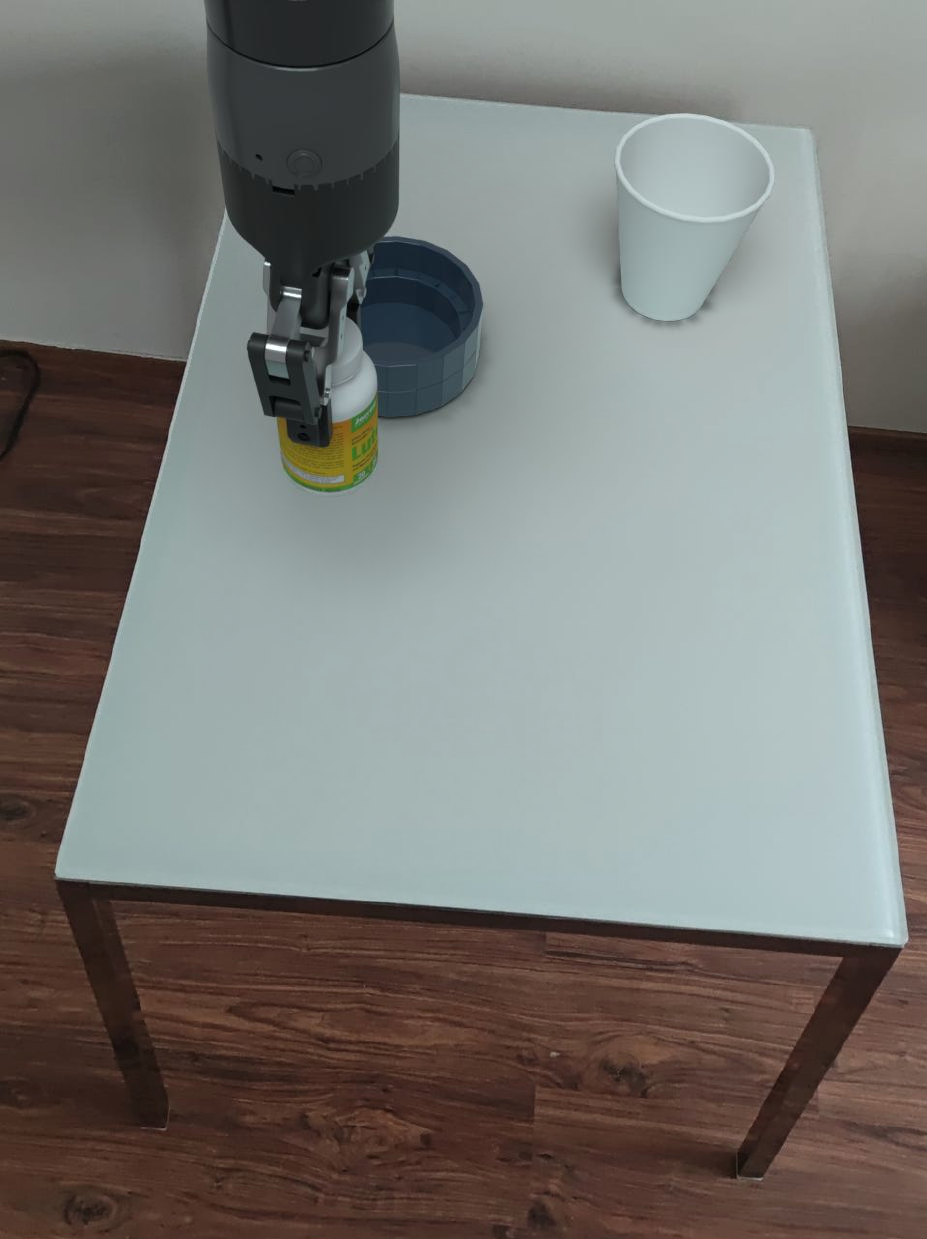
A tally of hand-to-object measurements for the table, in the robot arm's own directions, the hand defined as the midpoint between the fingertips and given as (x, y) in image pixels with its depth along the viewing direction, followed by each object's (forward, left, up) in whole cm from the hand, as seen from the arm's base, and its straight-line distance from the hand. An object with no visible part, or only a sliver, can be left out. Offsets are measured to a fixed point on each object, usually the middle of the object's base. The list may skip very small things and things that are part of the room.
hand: (325, 395), depth 64 cm
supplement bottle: (0, 0, -6) cm, 6 cm away
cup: (+19, +35, -22) cm, 45 cm away
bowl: (-1, +23, -21) cm, 32 cm away
